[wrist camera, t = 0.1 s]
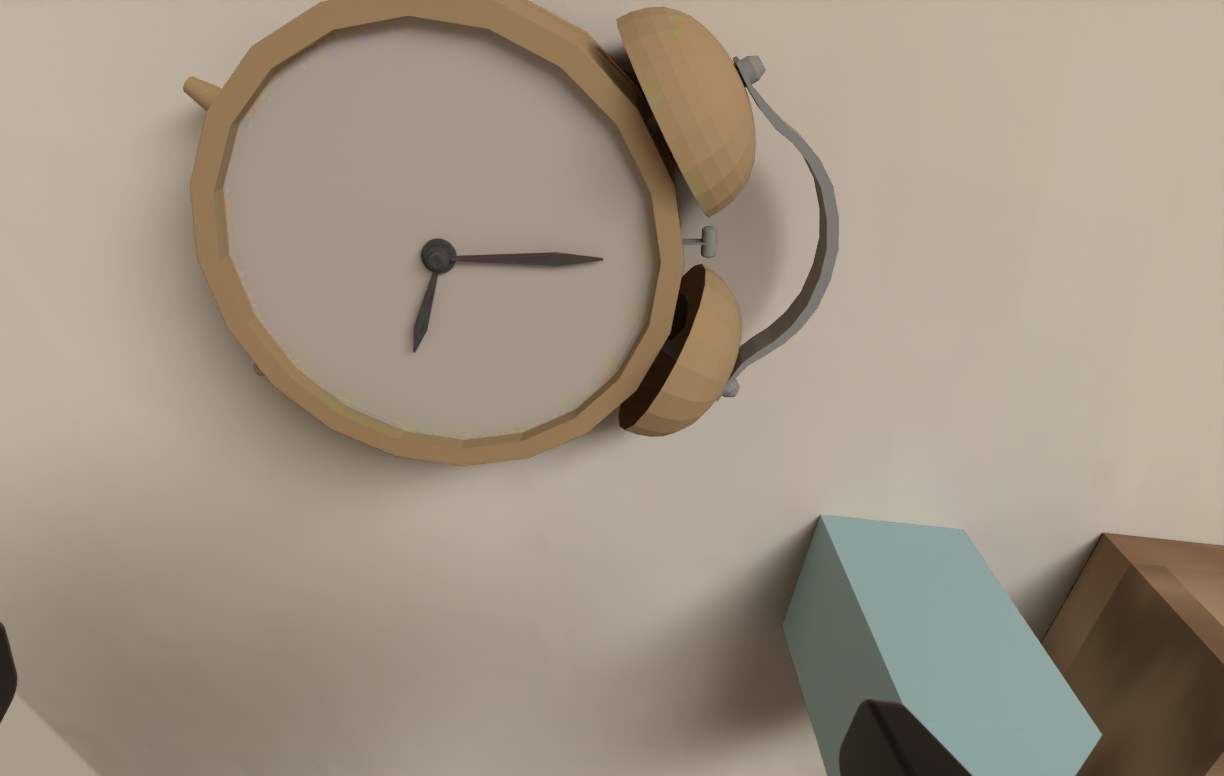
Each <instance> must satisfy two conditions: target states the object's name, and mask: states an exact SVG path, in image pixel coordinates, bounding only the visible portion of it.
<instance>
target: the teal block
mask: <svg viewBox="0 0 1224 776" xmlns="http://www.w3.org/2000/svg"><path fill="white" fill-rule="evenodd" d="M782 627H783V631H784V634H785V637H786V641H787V644H788V647H789V650H790V654H791V657H792V660H793V664H794V667H795V670H796V674H797V677H798V680H799V683H800V687H801V690H802V693H803V697H804V700H805V703H806V707H807V710H808V713H809V716H810V720H811V723H812V726H813V730H814V733H815V736H816V739H817V743H818V746H819V749H820V753H821V756H822V759H823V763H824V766H825V769H826V772H827V776H840V770H839V751H840V746H841V743H842V741H843V739H844V737H845V734H846V732H847V730H848V728H849V726H850V723H851V721H852V719H853V717H854V715H855V712H856V710H857V708H858V706H859V704H860V703H861V702H862V701H863V700H865V699H869V698H870V699H881V700H892V701H897V702H899V703H901V704H903V705H904V706H905V707H906V708H907V709H908V710H909V711H910V712H911V713H912V714H913V715H914V716H915V717H916V718H917V719H918V720H919V721H920V722H921V723H922V724H923V725H924V726H925V727H926V728H927V729H928V730H929V731H930V732H931V733H932V734H933V735H934V736H935V737H936V738H937V739H938V740H939V742H940V743H941V744H942V745H943V746H944V747H945V748H946V749H947V750H948V751H949V752H950V753H951V754H952V755H953V756H954V757H955V758H956V759H957V760H958V761H959V762H960V763H961V764H962V765H963V766H964V767H965V768H966V769H967V770H968V771H969V772H970V773H971V775H972V776H1076V774H1077V773H1078V771H1079V770H1080V768H1081V766H1082V765H1083V763H1084V762H1085V760H1086V759H1087V757H1088V756H1089V754H1090V753H1091V751H1092V750H1093V748H1094V747H1095V745H1096V744H1097V742H1098V741H1099V739H1100V738H1101V736H1102V734H1101V732H1100V731H1099V729H1098V728H1097V726H1096V725H1095V723H1094V722H1093V720H1092V719H1091V717H1090V716H1089V714H1088V713H1087V711H1086V710H1085V709H1084V707H1083V706H1082V704H1081V703H1080V701H1079V700H1078V698H1077V697H1076V695H1075V694H1074V692H1073V691H1072V689H1071V688H1070V686H1069V685H1068V683H1067V682H1066V680H1065V679H1064V677H1063V676H1062V674H1061V673H1060V671H1059V670H1058V668H1057V667H1056V666H1055V664H1054V663H1053V661H1052V660H1051V658H1050V657H1049V655H1048V654H1047V652H1046V651H1045V649H1044V648H1043V646H1042V645H1041V643H1040V642H1039V640H1038V639H1037V637H1036V636H1035V634H1034V633H1033V631H1032V630H1031V628H1030V627H1029V625H1028V624H1027V623H1026V621H1025V620H1024V618H1023V617H1022V615H1021V614H1020V612H1019V611H1018V609H1017V608H1016V606H1015V605H1014V603H1013V602H1012V600H1011V599H1010V597H1009V596H1008V594H1007V593H1006V591H1005V590H1004V588H1003V587H1002V585H1001V584H1000V583H999V581H998V580H997V578H996V577H995V575H994V574H993V572H992V571H991V569H990V568H989V566H988V565H987V563H986V562H985V560H984V559H983V557H982V556H981V554H980V553H979V551H978V550H977V548H976V547H975V545H974V544H973V542H972V541H971V540H970V538H969V537H968V535H967V534H966V532H965V531H964V530H963V529H953V528H944V527H934V526H925V525H915V524H906V523H896V522H887V521H877V520H868V519H858V518H849V517H839V516H830V515H820V517H819V520H818V523H817V526H816V529H815V532H814V535H813V538H812V541H811V544H810V546H809V549H808V552H807V555H806V558H805V561H804V564H803V567H802V570H801V572H800V575H799V578H798V581H797V584H796V587H795V590H794V593H793V596H792V599H791V601H790V604H789V607H788V610H787V613H786V616H785V619H784V622H783V625H782Z"/></svg>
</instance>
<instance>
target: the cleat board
mask: <svg viewBox="0 0 1224 776" xmlns="http://www.w3.org/2000/svg"><path fill="white" fill-rule="evenodd" d="M1041 645H1042V646H1043V648H1044V649H1045V651H1046V652H1047V654H1048V655H1049V657H1050V658H1051V660H1052V661H1053V663H1054V664H1055V666H1056V667H1057V668H1058V670H1059V671H1060V673H1061V674H1062V676H1063V677H1064V679H1065V680H1066V682H1067V683H1068V685H1069V686H1070V688H1071V689H1072V691H1073V692H1074V694H1075V695H1076V697H1077V698H1078V700H1079V701H1080V703H1081V704H1082V706H1083V707H1084V709H1085V710H1086V711H1087V713H1088V714H1089V716H1090V717H1091V719H1092V720H1093V722H1094V723H1095V725H1096V726H1097V728H1098V729H1099V731H1100V732H1101V734H1102V736H1101V738H1100V739H1099V741H1098V742H1097V744H1096V745H1095V747H1094V748H1093V750H1092V751H1091V753H1090V754H1089V756H1088V757H1087V759H1086V760H1085V762H1084V763H1083V765H1082V766H1081V768H1080V770H1079V771H1078V773H1077V774H1076V776H1224V546H1220V545H1211V544H1202V543H1192V542H1183V541H1174V540H1164V539H1155V538H1146V537H1136V536H1127V535H1118V534H1108V533H1103V535H1102V537H1101V539H1100V540H1099V542H1098V544H1097V546H1096V547H1095V549H1094V551H1093V553H1092V555H1091V556H1090V558H1089V560H1088V562H1087V563H1086V565H1085V567H1084V569H1083V571H1082V572H1081V574H1080V576H1079V578H1078V579H1077V581H1076V583H1075V585H1074V587H1073V588H1072V590H1071V592H1070V594H1069V596H1068V597H1067V599H1066V601H1065V603H1064V604H1063V606H1062V608H1061V610H1060V612H1059V613H1058V615H1057V617H1056V619H1055V620H1054V622H1053V624H1052V626H1051V628H1050V629H1049V631H1048V633H1047V635H1046V636H1045V638H1044V640H1043V642H1042V644H1041Z"/></svg>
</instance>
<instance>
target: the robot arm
mask: <svg viewBox="0 0 1224 776" xmlns="http://www.w3.org/2000/svg"><path fill="white" fill-rule="evenodd" d="M16 687H17V672H16V668H15V664H14V660H13V656H12V652H11V649H10V645H9V641H8V637H7V633H6V629H5V627H4V625H3V624H2V623H1V622H0V723H1V721H2V719H3V717H4V715H5V713H6V711H7V710H8V708H9V706H10V704H11V702H12V700H13V697H14V694H15V691H16ZM839 770H840V776H972V775H971V773H970V772H969V771H968V770H967V769H966V768H965V767H964V766H963V765H962V764H961V763H960V762H959V761H958V760H957V759H956V758H955V757H954V756H953V755H952V754H951V753H950V752H949V751H948V750H947V749H946V748H945V747H944V746H943V745H942V744H941V743H940V742H939V740H938V739H937V738H936V737H935V736H934V735H933V734H932V733H931V732H930V731H929V730H928V729H927V728H926V727H925V726H924V725H923V724H922V723H921V722H920V721H919V720H918V719H917V718H916V717H915V716H914V715H913V714H912V713H911V712H910V711H909V710H908V709H907V708H906V707H905V706H904V705H903V704H901V703H899V702H897V701H892V700H881V699H870V698H869V699H865V700H863V701H862V702H861V703H860V704H859V706H858V708H857V710H856V712H855V715H854V717H853V719H852V721H851V723H850V726H849V728H848V730H847V732H846V734H845V737H844V739H843V741H842V743H841V746H840V751H839Z"/></svg>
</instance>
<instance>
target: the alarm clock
mask: <svg viewBox="0 0 1224 776" xmlns="http://www.w3.org/2000/svg"><path fill="white" fill-rule="evenodd" d="M617 26H618V29H619V32H620V35H621V38H622V41H623V44H624V46H625V49H626V51H627V54H628V56H629V59H630V61H631V64H632V66H633V69H634V71H635V74H636V76H637V78H638V80H639V83H640V85H641V87H642V89H643V92H644V94H645V96H646V99H647V101H648V103H649V105H650V108H651V110H652V112H653V114H654V116H652V113H651V111H650V109H649V107H648V105H647V103H646V101H645V99H644V97H643V94H642V92H641V90H640V88H639V87H638V86H637V85H636V84H635V83H634V82H633V81H632V80H631V79H630V78H629V77H628V76H627V75H626V74H625V72H624V71H623V70H622V69H621V68H620V67H619V66H618V65H617V64H616V63H615V62H614V61H613V60H612V59H611V58H610V56H609V55H608V54H607V53H606V52H605V51H604V50H603V49H602V48H601V47H600V46H599V45H598V44H597V43H596V42H595V41H594V39H593V38H592V37H591V36H590V35H589V34H588V33H587V32H585V31H583V30H582V29H580V28H578V27H576V26H574V25H572V24H571V23H569V22H567V21H565V20H563V19H561V18H560V17H558V16H556V15H554V14H552V13H550V12H549V11H547V10H545V9H543V8H541V7H539V6H538V5H536V4H534V3H532V2H530V1H528V0H329V1H324V2H320V3H318V4H316V5H315V6H313V7H312V8H310V9H309V10H307V11H306V12H304V13H303V14H301V15H299V16H298V17H296V18H295V19H293V20H292V21H290V22H289V23H287V24H286V25H284V26H282V27H281V28H279V29H278V30H276V31H275V32H273V33H272V34H270V35H269V36H267V37H265V38H264V39H262V40H261V41H259V42H258V43H256V44H255V45H253V46H252V47H251V48H250V49H249V51H248V52H247V54H246V55H245V57H244V58H243V60H242V61H241V62H240V64H239V65H238V67H237V68H236V70H235V71H234V73H233V74H232V75H231V77H230V78H229V80H228V81H227V83H226V84H225V86H224V87H223V89H221V88H219V87H217V86H214V85H212V84H210V83H207V82H205V81H202V80H200V79H197V78H195V77H189V78H188V79H187V80H186V82H185V84H184V87H183V90H184V92H185V93H186V94H188V95H189V96H190V97H191V98H192V99H193V100H194V101H196V102H197V103H198V104H199V105H200V106H201V107H202V108H204V109H205V110H206V111H207V113H206V118H205V122H204V126H203V131H202V135H201V139H200V143H199V148H198V152H197V156H196V161H195V165H194V169H193V173H192V178H191V182H190V192H191V201H192V210H193V219H194V228H195V237H196V246H197V256H198V261H199V264H200V266H201V268H202V271H203V273H204V275H205V277H206V280H207V282H208V284H209V287H210V289H211V291H212V294H213V296H214V298H215V301H216V303H217V305H218V308H219V310H220V312H221V314H222V317H223V319H224V321H225V324H226V326H227V328H228V330H229V331H230V332H231V334H232V335H233V336H234V337H235V338H236V340H237V341H238V342H239V343H240V345H241V346H242V347H243V348H244V350H245V351H246V352H247V353H248V355H249V356H250V357H251V358H252V360H253V361H254V362H255V364H254V370H255V372H256V373H257V374H258V375H260V376H264V375H265V376H266V377H267V378H268V380H269V381H270V382H271V383H272V384H273V386H274V387H276V388H277V389H278V390H280V391H281V392H282V393H284V394H285V395H286V396H288V397H289V398H290V399H292V400H293V401H294V402H296V403H297V404H298V405H300V406H301V407H302V408H304V409H305V410H306V411H308V412H309V413H310V414H312V415H313V416H314V417H316V418H317V419H318V420H320V421H321V422H322V423H324V424H325V425H326V426H328V427H329V428H330V429H332V430H335V431H337V432H339V433H342V434H344V435H346V436H349V437H351V438H354V439H356V440H358V441H361V442H363V443H366V444H368V445H370V446H373V447H375V448H378V449H380V450H382V451H385V452H387V453H389V454H392V455H394V456H398V457H405V458H412V459H419V460H425V461H432V462H439V463H446V464H453V465H459V466H466V465H475V464H483V463H492V462H500V461H509V460H517V459H526V458H529V457H532V456H534V455H537V454H539V453H541V452H544V451H546V450H548V449H551V448H553V447H555V446H558V445H560V444H562V443H565V442H567V441H569V440H572V439H574V438H576V437H579V436H581V435H584V434H586V433H588V432H589V431H590V430H591V429H592V428H593V427H595V426H596V425H597V424H598V423H599V422H600V421H602V420H603V419H604V418H605V417H606V416H607V415H609V414H610V413H611V412H612V411H613V410H614V409H616V408H617V407H618V406H619V405H620V404H621V406H620V412H619V422H620V427H621V428H623V429H624V430H627V431H629V432H632V433H635V434H638V435H644V436H650V437H655V436H665V435H669V434H672V433H675V432H677V431H679V430H682V429H684V428H686V427H688V426H690V425H692V424H693V423H694V422H695V421H696V420H698V419H699V418H700V417H701V416H702V415H703V414H704V413H705V412H706V411H707V410H708V409H709V408H710V407H711V406H712V404H713V403H714V402H715V400H716V401H718V400H719V399H720V397H721V396H724V397H735V396H736V395H737V393H738V392H739V389H740V386H739V384H738V382H737V380H736V377H737V376H738V375H739V374H740V373H741V372H742V371H743V370H744V369H745V368H746V367H747V366H748V365H750V364H751V363H753V362H755V361H756V360H758V359H760V358H762V357H763V356H765V355H767V354H768V353H770V352H772V351H773V350H775V349H776V348H778V347H780V346H781V345H783V344H784V343H785V342H786V341H787V340H789V339H790V338H791V337H792V336H793V335H794V334H796V333H797V332H798V331H799V330H800V329H801V328H802V327H803V326H804V324H805V323H806V322H807V321H808V319H809V318H810V317H811V315H812V314H813V313H814V312H815V310H816V309H817V308H818V306H819V304H820V302H821V299H822V297H823V295H824V293H825V291H826V288H827V286H828V284H829V282H830V280H831V276H832V272H833V268H834V264H835V260H836V256H837V252H838V236H839V217H838V211H837V206H836V200H835V195H834V189H833V185H832V183H831V181H830V179H829V177H828V175H827V173H826V171H825V169H824V167H823V165H822V163H821V160H820V159H819V158H818V157H817V155H816V154H815V153H814V152H813V150H812V149H811V148H810V147H809V146H808V144H807V143H806V142H805V141H804V139H803V138H802V137H801V136H800V135H799V133H798V132H797V131H796V130H794V129H793V128H792V127H791V126H789V125H788V124H787V123H786V122H785V121H783V120H782V119H781V118H780V117H779V116H778V115H777V114H776V113H775V112H774V111H773V109H772V108H771V107H770V106H769V105H768V104H767V103H766V102H765V101H764V100H763V98H762V97H761V96H760V95H759V93H758V92H757V91H756V90H755V88H754V87H753V86H752V84H753V83H755V82H757V81H758V80H759V79H760V78H761V76H762V75H763V73H764V72H765V68H764V66H763V64H762V62H761V60H760V58H759V56H747V57H745V58H744V59H742V60H739V59H738V58H737V56H736V57H734V58H733V61H734V63H733V62H732V60H731V58H730V57H729V55H728V54H727V52H726V50H725V49H724V48H723V46H722V45H721V44H720V43H719V41H718V40H717V39H716V38H715V36H714V35H713V34H711V33H710V32H709V31H708V30H707V29H706V28H705V27H704V26H703V25H702V24H701V23H699V22H698V21H697V20H695V19H694V18H693V17H691V16H689V15H687V14H685V13H682V12H680V11H678V10H674V9H669V8H665V7H652V8H645V9H641V10H637V11H633V12H630V13H628V14H626V15H624V16H622V17H620V18H618V19H617ZM745 87H747V89H748V90H749V92H750V94H751V95H752V97H753V99H754V101H755V102H756V104H757V106H758V107H759V108H760V110H761V111H762V112H763V114H764V115H765V116H766V117H767V119H768V120H769V121H770V122H771V124H772V125H773V126H774V128H775V129H776V130H777V131H779V132H780V133H781V134H782V135H783V136H785V137H786V138H787V139H788V140H790V141H791V142H792V143H793V144H794V145H795V147H796V148H797V149H798V150H799V151H800V153H801V154H802V155H803V157H804V159H805V161H806V163H807V165H808V167H809V169H810V171H811V173H812V175H813V177H814V182H815V187H816V192H817V198H818V203H819V208H820V228H819V241H818V245H817V250H816V254H815V258H814V262H813V266H812V268H811V270H810V272H809V275H808V277H807V279H806V282H805V284H804V286H803V288H802V291H801V293H800V294H799V295H798V296H797V298H796V299H795V300H794V302H793V303H792V304H791V306H790V307H789V308H788V310H787V311H786V312H785V313H784V314H783V315H782V316H780V317H779V318H778V319H777V320H776V321H775V322H774V323H773V324H771V325H770V326H769V327H768V328H766V329H765V330H763V331H762V332H760V333H758V334H757V335H755V336H754V337H752V338H751V339H749V340H748V341H747V342H746V343H744V344H743V345H742V346H740V341H741V331H742V325H741V314H740V309H739V305H738V303H737V300H736V297H735V295H734V294H733V293H732V291H731V290H730V288H729V287H728V286H727V284H726V283H725V282H724V280H723V279H722V278H720V277H719V276H718V275H717V274H716V273H715V272H714V271H712V270H711V269H709V268H708V267H706V266H704V265H703V264H699V265H696V266H694V267H692V268H691V269H690V270H689V271H688V272H687V273H686V274H685V275H684V276H683V277H682V273H683V268H684V254H683V247H682V245H701V255H702V256H703V257H707V258H710V257H714V256H715V254H716V236H717V229H716V228H715V227H712V226H707V227H704V228H703V229H702V239H681V231H680V227H681V226H680V218H679V210H678V203H677V195H676V187H675V180H674V172H673V164H672V157H671V153H670V151H669V149H668V147H667V145H666V143H665V141H664V139H663V137H662V134H661V132H660V130H661V131H662V133H663V136H664V138H665V140H666V142H667V144H668V146H669V148H670V150H671V152H672V154H673V156H674V158H675V160H676V162H677V164H678V166H679V168H680V170H681V172H682V174H683V176H684V178H685V180H686V182H687V184H688V186H689V188H690V189H691V191H692V193H693V195H694V197H695V199H696V200H697V202H698V204H699V205H700V207H701V209H702V210H703V212H704V213H705V214H706V215H707V217H710V216H712V215H714V214H715V213H717V212H719V211H720V210H722V209H723V208H724V207H726V206H727V205H728V204H729V203H730V202H731V201H733V200H734V199H735V198H736V196H737V195H738V194H739V193H740V191H741V190H742V189H743V188H744V186H745V184H746V182H747V180H748V178H749V176H750V173H751V169H752V166H753V163H754V158H755V146H756V144H755V126H754V120H753V113H752V109H751V106H750V102H749V98H748V94H747V92H746V89H745ZM679 291H680V292H681V293H682V294H683V295H684V296H685V298H686V300H687V318H686V323H685V326H684V328H683V329H682V330H681V331H680V332H679V333H678V334H677V335H676V336H675V337H674V338H673V339H672V341H670V340H669V339H667V338H668V336H669V334H670V332H671V327H672V322H673V317H674V312H675V307H676V303H677V298H678V293H679ZM739 346H740V347H739Z"/></svg>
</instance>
